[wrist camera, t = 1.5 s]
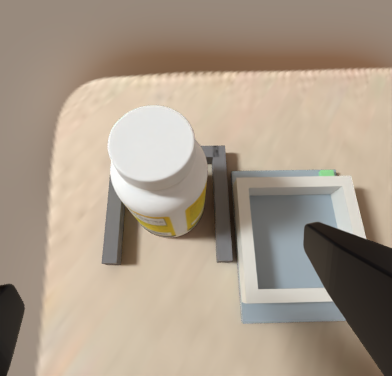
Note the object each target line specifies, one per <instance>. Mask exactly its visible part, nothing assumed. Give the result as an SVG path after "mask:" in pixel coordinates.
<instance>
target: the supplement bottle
mask: <svg viewBox="0 0 392 376" xmlns="http://www.w3.org/2000/svg"><path fill="white" fill-rule="evenodd" d="M108 153H109V156H110V159H111V167H110V175H111V181H112V185H113V187H114V189H115V192H116V193H117V195H118V197H119V198H120V200H121V201H122V202H123V203H124V205H125V206H126V207H127V208H128V210H129V211H130V212H131V213H132V214H133V216H134V217H135V218H136V219H137V220H138V222H139V223H140V224H141V225H142V226H143V227H144V228H145V229H146V230H147V231H149V232H150V233H152V234H154V235H156V236H159V237H165V238H172V237H178V236H181V235H183V234H186V233H187V232H189V231H190V230H192V229H193V228H194V227H195V226H196V224H197V223H198V222H199V220H200V218H201V216H202V214H203V210H204V204H205V193H206V185H207V176H208V166H207V160H206V156H205V154H204V151H203V150H202V148H201V146H200V145H199V143H198V142H197V141H196V139H195V135H194V131H193V129H192V127H191V125H190V123H189V122H188V120H187V119H186V118H185V117H184V116H183V115H182V114H180V113H179V112H177V111H176V110H173V109H171V108H168V107H165V106H159V105H149V106H143V107H139V108H136V109H133V110H131V111H129V112H128V113H126V114H125V115H123V116H122V117H121V118H120V119H119V120H118V121H117V122H116V123H115V125H114V126H113V128H112V130H111V132H110V135H109V139H108Z"/></svg>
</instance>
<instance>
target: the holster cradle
mask: <svg viewBox="0 0 392 376" xmlns="http://www.w3.org/2000/svg"><path fill="white" fill-rule="evenodd" d="M201 148H202V150H203V151H204V154H205V156H206V160H207V164H209V163H212V173H213V194H214V215H215V236H216V256H217V262H231V261H233V258H232V243H231V228H230V214H229V199H228V184H227V169H226V155H225V146H201ZM124 212H125V205H124V203H123V202H122V201H121V200H120V198H119V197H118V195H117V193H116V192H115V189H114V187H113V185H112V181H111V175H110V182H109V192H108V203H107V213H106V224H105V234H104V245H103V255H102V264H106V265H121V254H122V240H123V226H124Z"/></svg>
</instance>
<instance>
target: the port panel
mask: <svg viewBox="0 0 392 376" xmlns="http://www.w3.org/2000/svg"><path fill="white" fill-rule="evenodd" d="M231 184H232V198H233V212H234V225H235V239H236V253H237V266H238V280H239V294H240V307H241V321H242V323H243V324H244V323H281V322H318V321H346V319H345V318H344V316H343V315H342V314H341V312H340V311H339V309H338V308H337V306H336V305H335V303H334V302H333V301H332V299H331V297H330V296H329V294H328V293H327V291H326V289H325V288H324V286H323V284H322V282H321V280H320V279H319V277H318V275H317V273H316V271H315V269H314V268H313V266H312V264H311V262H310V260H309V258H308V257H307V255H306V253H305V251H304V247H303V239H304V226H305V225H306V224H307V223H312V222H321V223H324V224H326V225H329V226H332V227H335V228H337V229H340V230H343V231H346V232H348V233H351V234H354V235H357V236H359V237H362V238H365V239H366V236H365V231H364V227H363V223H362V219H361V215H360V211H359V206H358V202H357V198H356V194H355V190H354V186H353V182H352V177H351V176H337V175H336V171H335V170H278V171H232V172H231Z"/></svg>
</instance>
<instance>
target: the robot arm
mask: <svg viewBox="0 0 392 376" xmlns="http://www.w3.org/2000/svg"><path fill="white" fill-rule="evenodd" d="M303 247H304V251H305V253H306V255H307V257H308V258H309V260H310V262H311V264H312V266H313V268H314V269H315V271H316V273H317V275H318V277H319V279H320V280H321V282H322V284H323V286H324V288H325V289H326V291H327V293H328V294H329V296H330V297H331V299H332V301H333V302H334V303H335V305H336V306H337V308H338V309H339V311H340V312H341V314H342V315H343V316H344V318H345V319H346V321H347V322H348V324H349V325H350V327H351V328H352V330H353V331H354V332H355V334H356V335H357V337H358V338H359V340H360V341H361V343H362V344H363V345H364V347H365V348H366V350H367V351H368V353H369V354H370V356H371V357H372V359H373V360H374V361H375V363H376V364H377V366H378V367H379V369H380V370H381V372H382V373H383V374H384V376H392V248H389V247H387V246H384V245H381V244H379V243H376V242H373V241H370V240H368V239H365V238H362V237H359V236H357V235H354V234H351V233H348V232H346V231H343V230H340V229H337V228H335V227H332V226H329V225H326V224H324V223H321V222H312V223H307V224H306V225H305V226H304V239H303ZM24 309H25V308H24V303H23V301H22V299H21V297H20V295H19V294H18V292H17V290H16V288H15V287H14V285H12V284H4V285H0V376H7V373H8V370H9V367H10V364H11V360H12V357H13V354H14V349H15V346H16V342H17V338H18V334H19V330H20V326H21V323H22V318H23V315H24Z"/></svg>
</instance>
